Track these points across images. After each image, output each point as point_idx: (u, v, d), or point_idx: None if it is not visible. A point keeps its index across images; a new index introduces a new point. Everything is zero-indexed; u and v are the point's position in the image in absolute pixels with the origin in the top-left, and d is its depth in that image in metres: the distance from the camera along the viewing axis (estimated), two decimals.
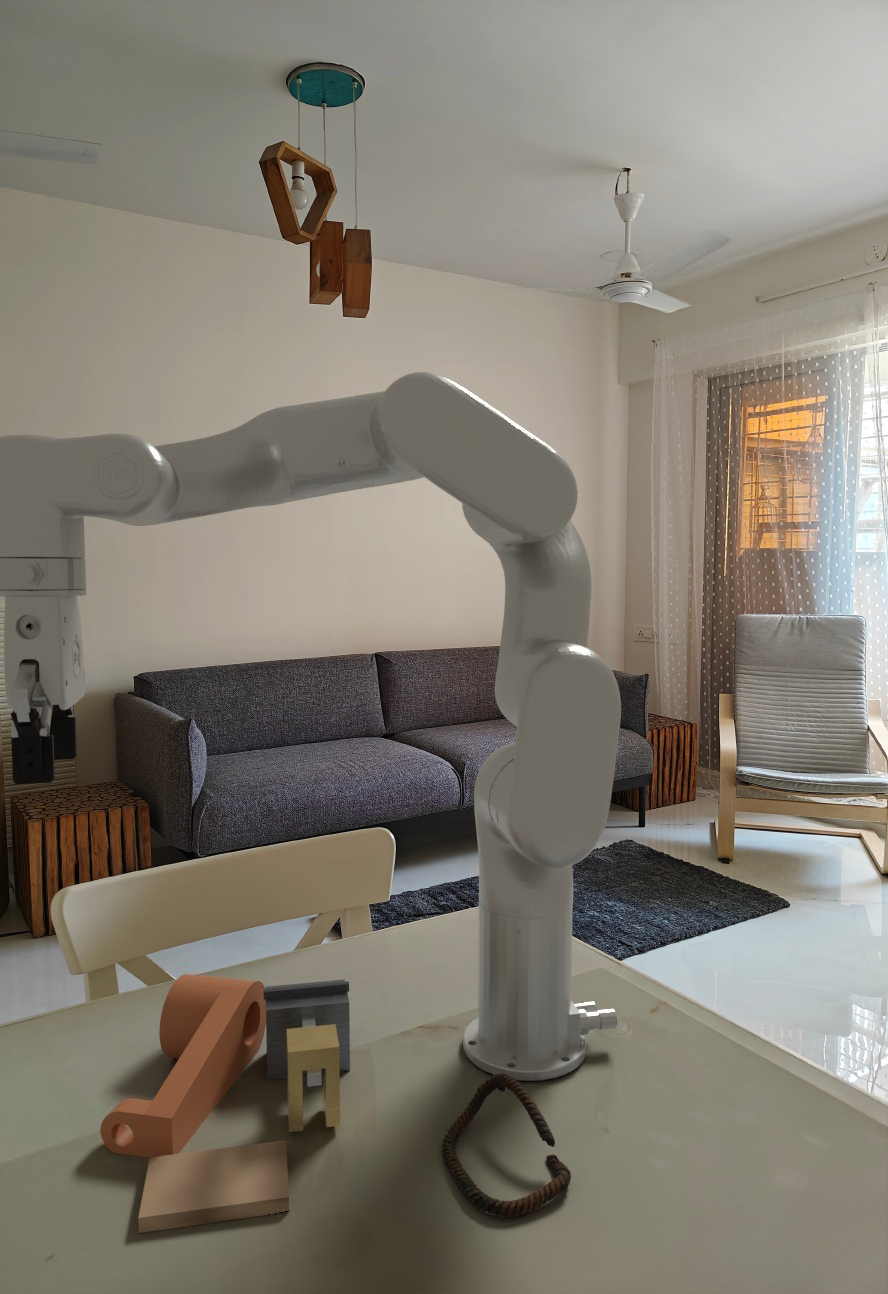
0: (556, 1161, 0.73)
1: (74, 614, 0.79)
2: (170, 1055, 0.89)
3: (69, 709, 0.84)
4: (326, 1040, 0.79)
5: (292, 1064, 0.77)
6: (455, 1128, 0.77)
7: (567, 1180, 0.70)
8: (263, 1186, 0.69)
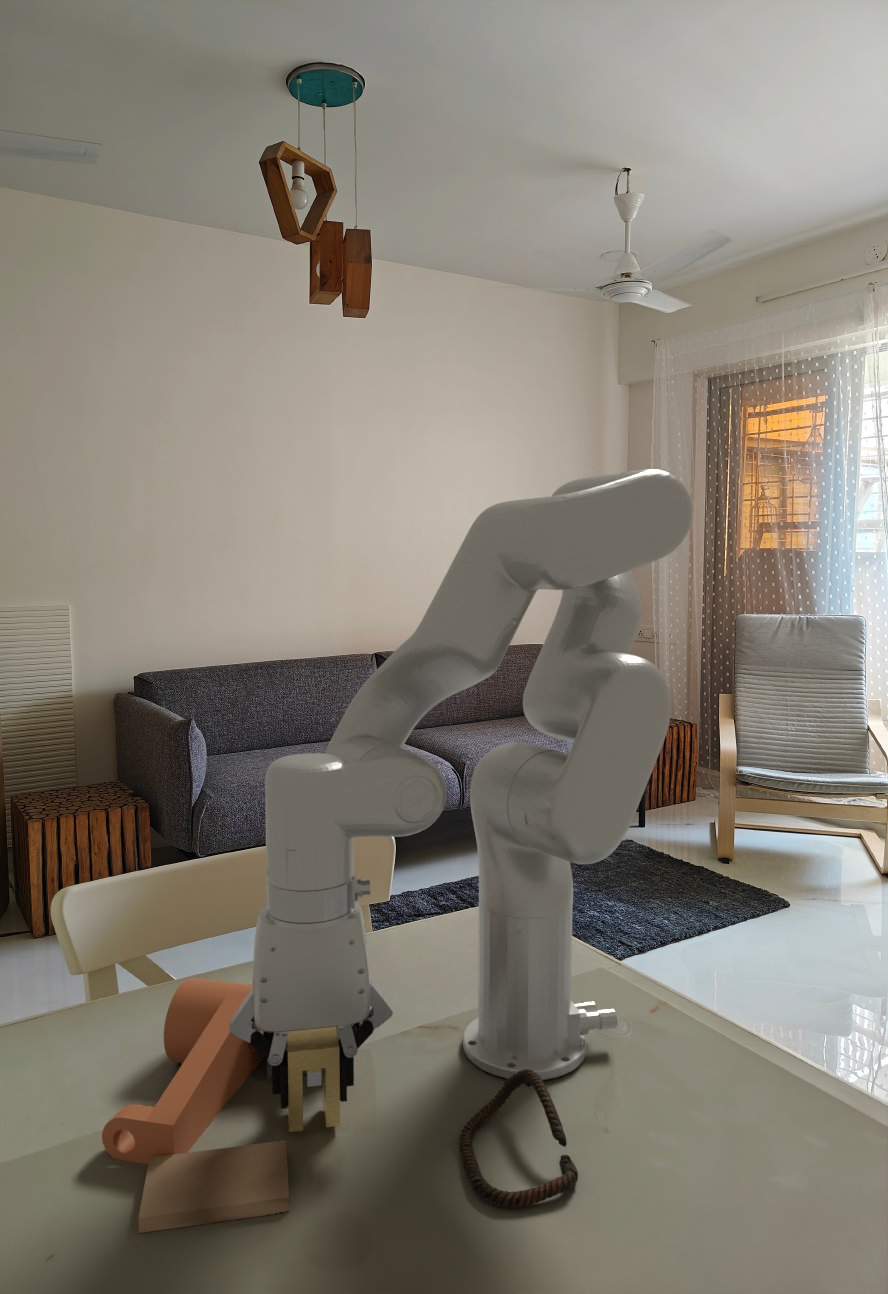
0: (568, 1162, 0.73)
1: None
2: (174, 1060, 0.88)
3: None
4: (326, 1040, 0.79)
5: (292, 1064, 0.77)
6: (478, 1116, 0.79)
7: (571, 1181, 0.70)
8: (263, 1186, 0.69)
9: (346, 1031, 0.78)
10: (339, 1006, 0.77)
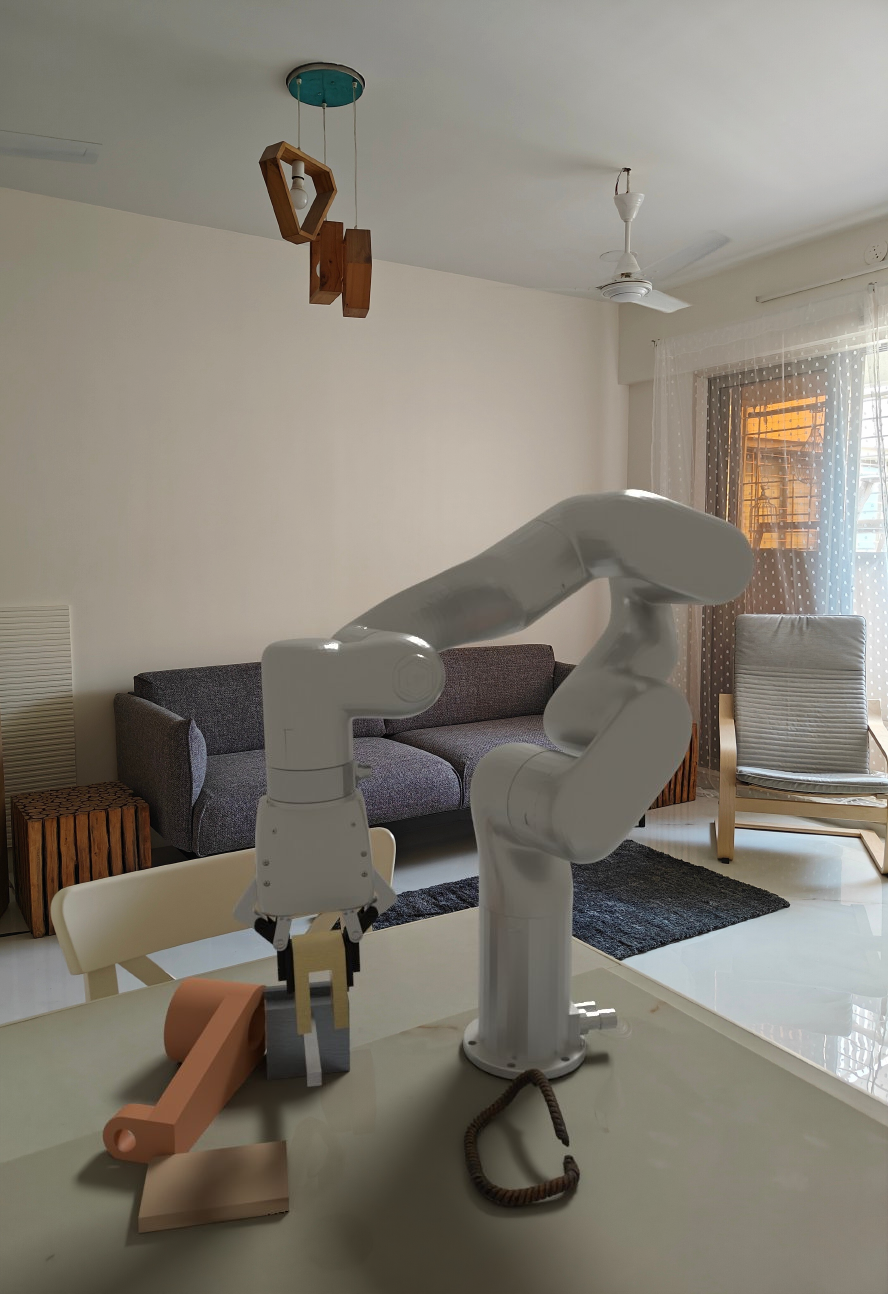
0: (571, 1162, 0.73)
1: None
2: (174, 1059, 0.88)
3: None
4: (331, 942, 0.78)
5: (298, 966, 0.76)
6: (484, 1114, 0.79)
7: (571, 1181, 0.70)
8: (263, 1186, 0.69)
9: (351, 916, 0.78)
10: (343, 889, 0.76)
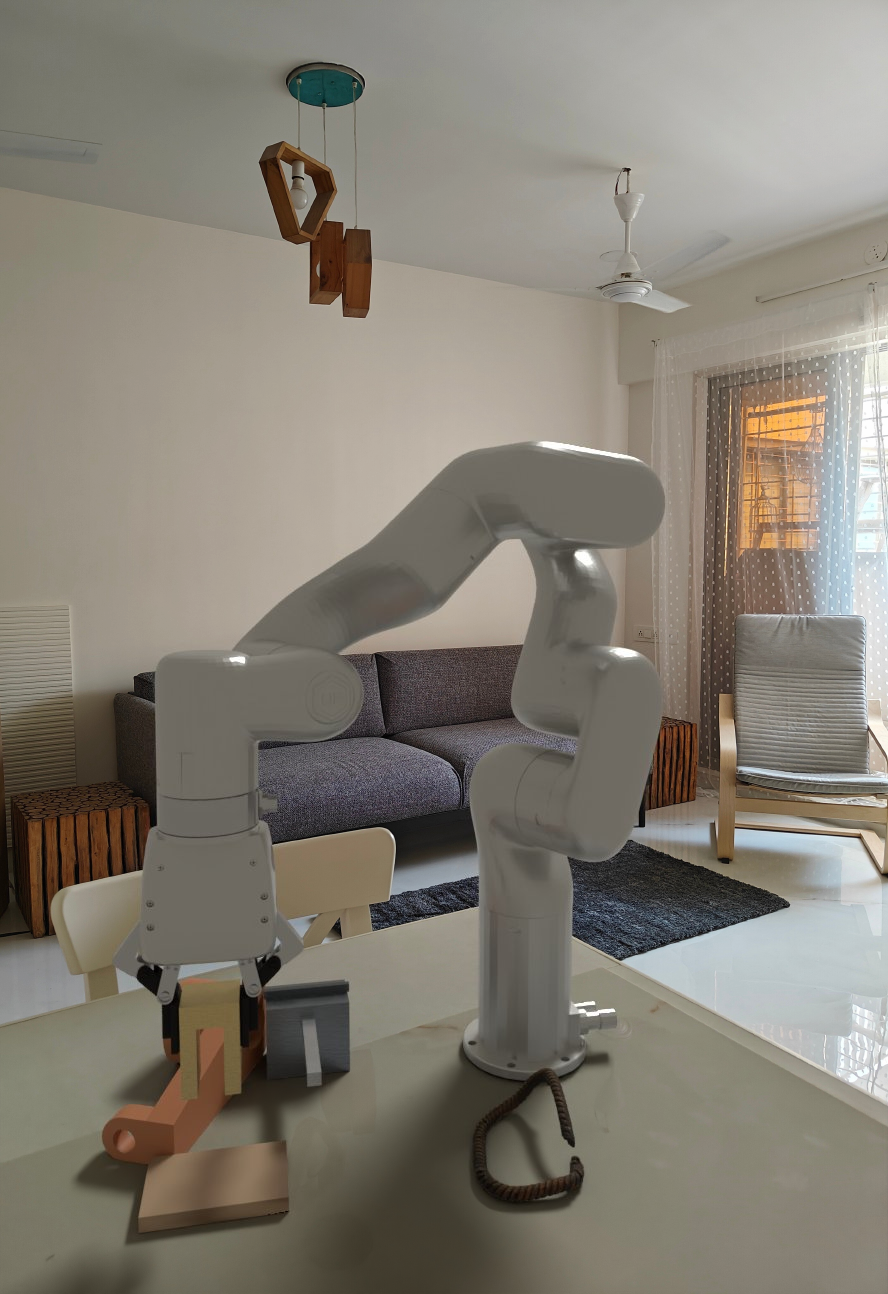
0: (577, 1163, 0.73)
1: None
2: (174, 1060, 0.88)
3: None
4: (226, 995, 0.69)
5: (184, 1022, 0.67)
6: (496, 1110, 0.80)
7: (573, 1181, 0.70)
8: (263, 1186, 0.69)
9: (248, 966, 0.68)
10: (238, 936, 0.67)
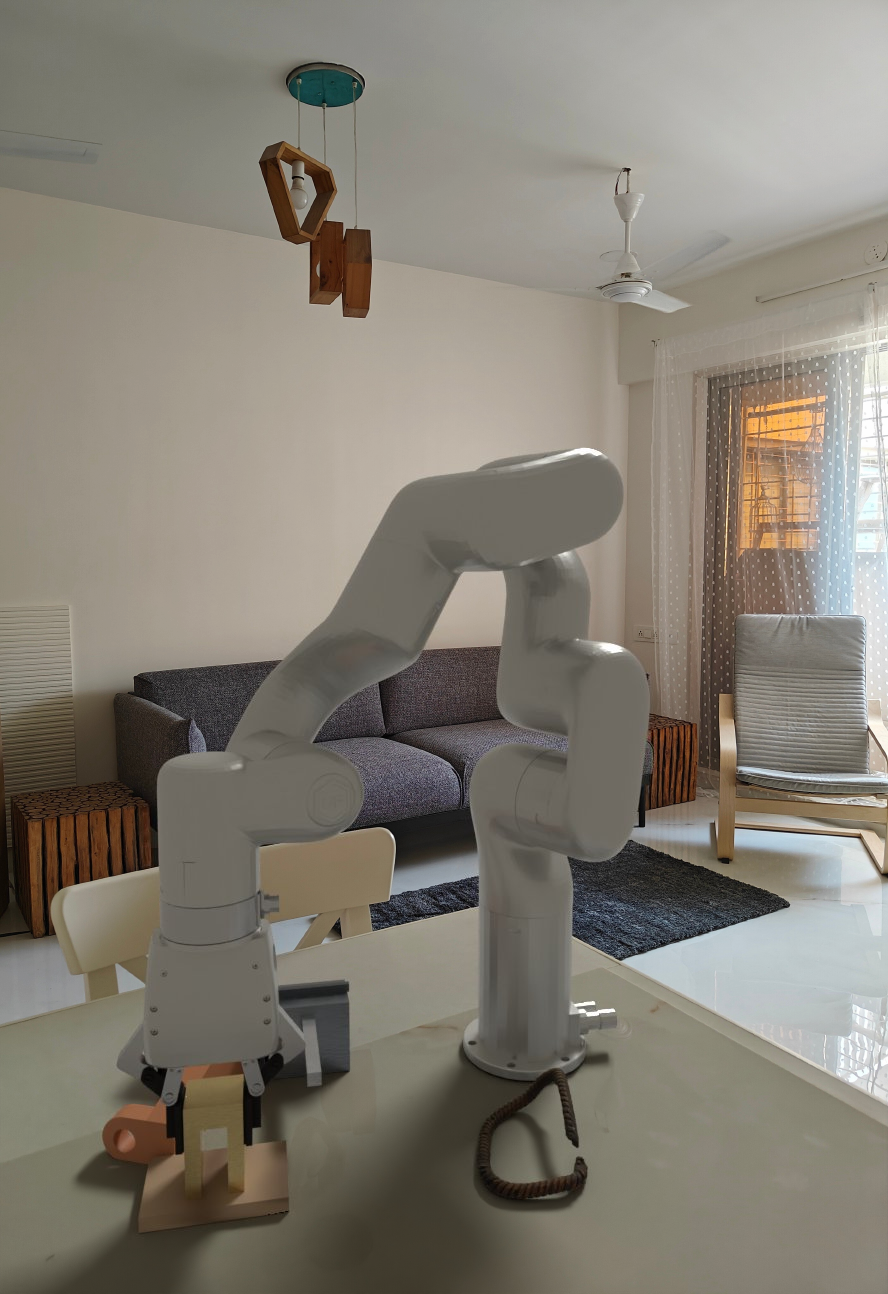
0: (580, 1163, 0.73)
1: None
2: None
3: None
4: (229, 1094, 0.69)
5: (188, 1123, 0.68)
6: (505, 1108, 0.80)
7: (574, 1182, 0.70)
8: (263, 1186, 0.69)
9: (251, 1066, 0.69)
10: (241, 1038, 0.68)
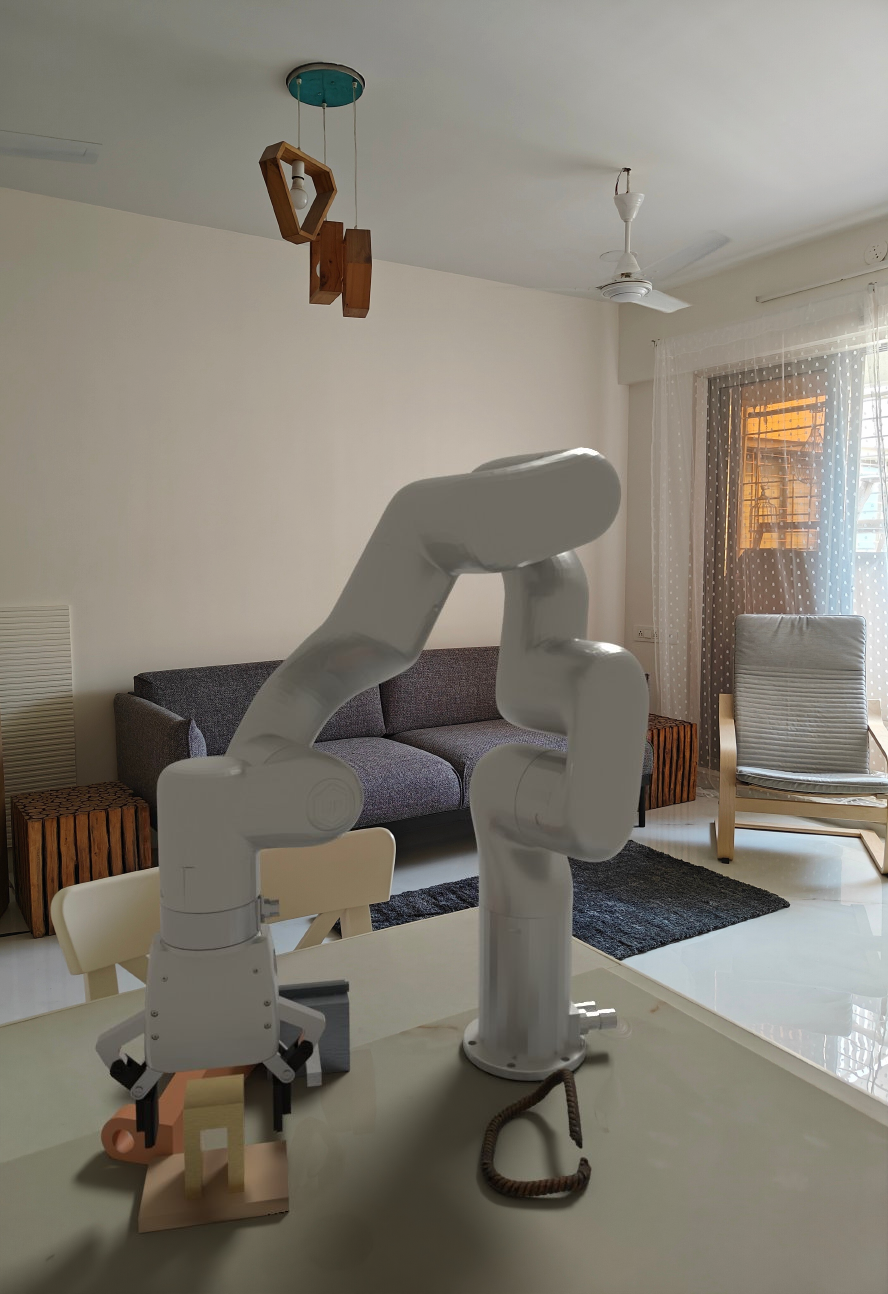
0: (584, 1164, 0.73)
1: None
2: None
3: None
4: (229, 1094, 0.69)
5: (188, 1123, 0.68)
6: (514, 1106, 0.81)
7: (575, 1182, 0.70)
8: (263, 1186, 0.69)
9: (271, 1059, 0.69)
10: (242, 1043, 0.68)
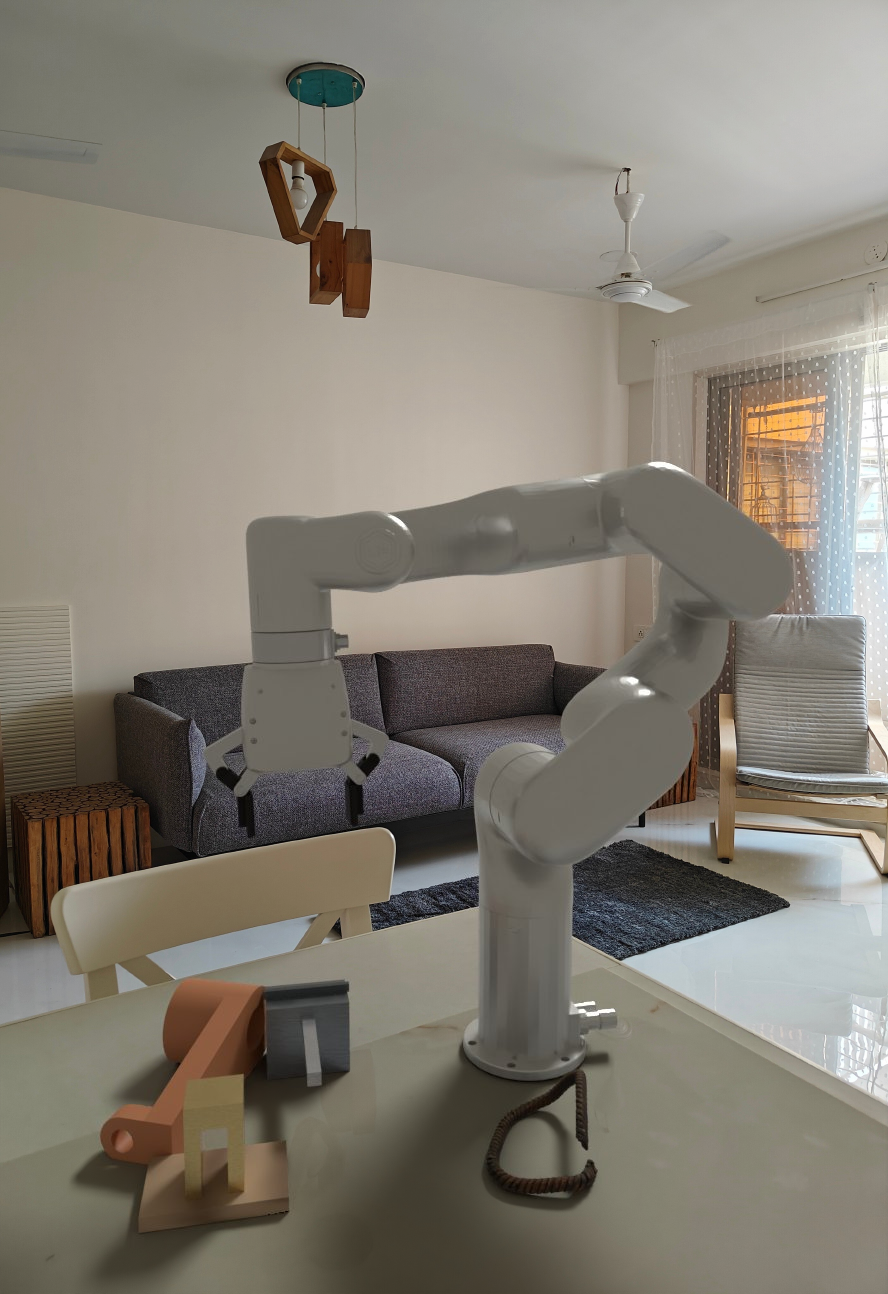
0: (590, 1166, 0.73)
1: None
2: (173, 1060, 0.88)
3: None
4: (229, 1094, 0.69)
5: (188, 1123, 0.68)
6: (527, 1104, 0.81)
7: (576, 1183, 0.70)
8: (263, 1186, 0.69)
9: (347, 764, 0.84)
10: (324, 747, 0.83)
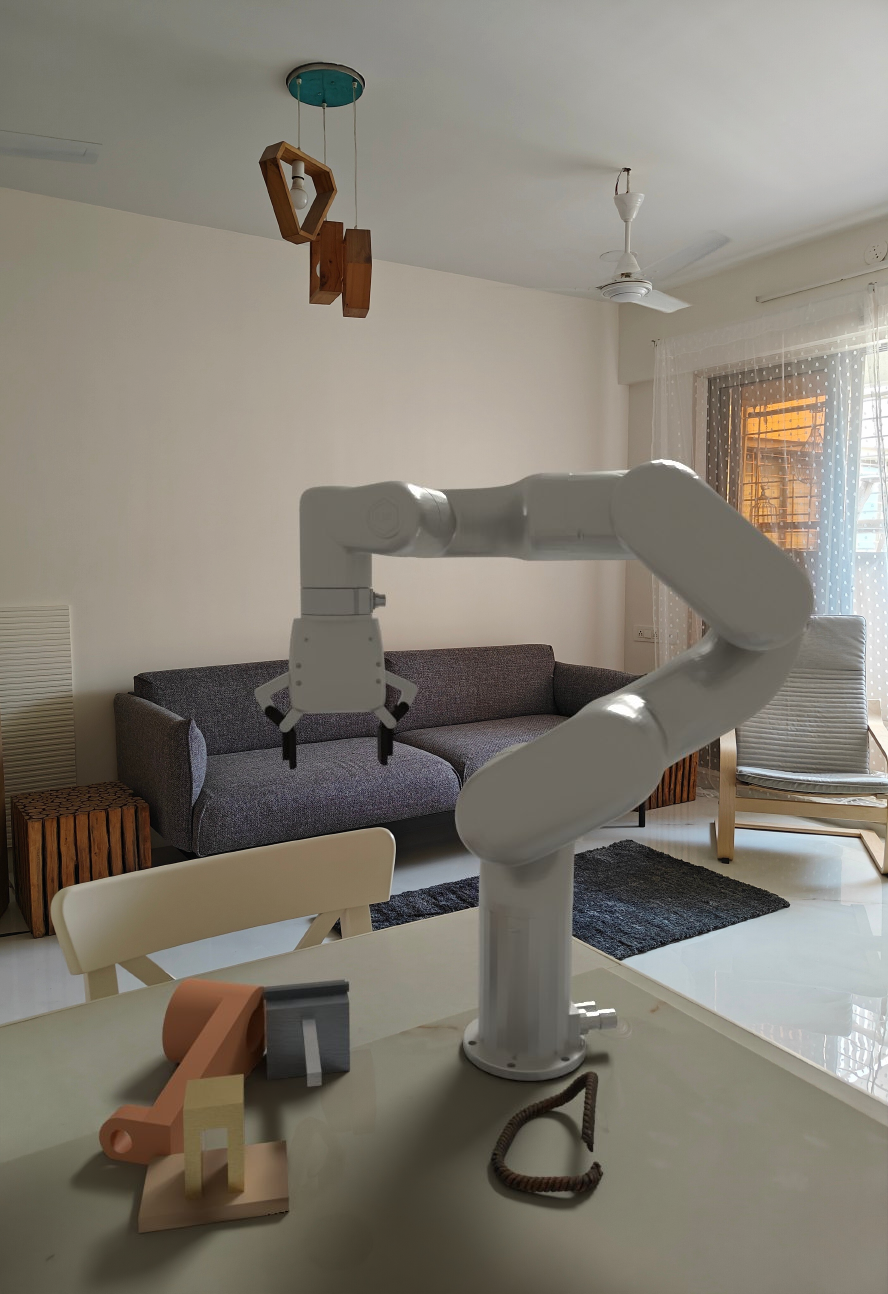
0: (595, 1168, 0.72)
1: None
2: (173, 1060, 0.88)
3: None
4: (229, 1094, 0.69)
5: (188, 1123, 0.68)
6: (540, 1104, 0.81)
7: (578, 1183, 0.70)
8: (263, 1186, 0.69)
9: (380, 709, 0.95)
10: (360, 692, 0.93)
